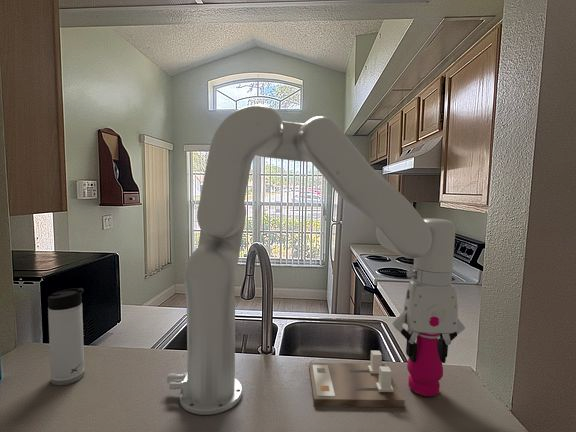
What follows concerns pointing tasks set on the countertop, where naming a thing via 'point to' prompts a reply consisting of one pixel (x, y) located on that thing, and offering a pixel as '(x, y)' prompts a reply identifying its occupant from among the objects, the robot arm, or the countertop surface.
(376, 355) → the tab
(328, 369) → the switch board
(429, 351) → the pepper mill
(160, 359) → the countertop surface
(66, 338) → the travel mug
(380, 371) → the tab
